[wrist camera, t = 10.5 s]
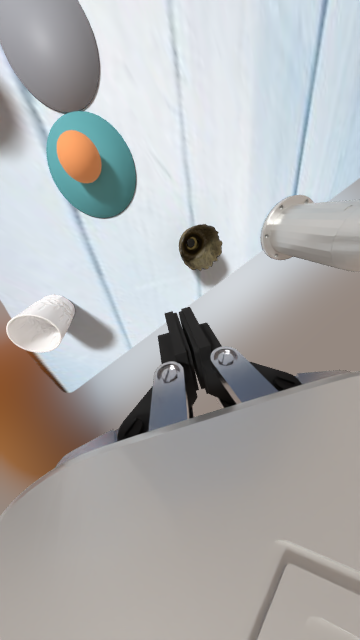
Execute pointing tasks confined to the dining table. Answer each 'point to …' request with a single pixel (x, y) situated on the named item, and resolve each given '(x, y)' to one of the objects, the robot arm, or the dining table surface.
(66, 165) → the ball
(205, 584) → the robot arm
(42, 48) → the disc
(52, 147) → the disc
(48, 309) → the white cup
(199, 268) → the cup
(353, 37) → the dining table surface
